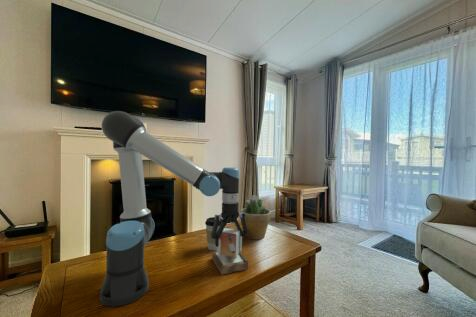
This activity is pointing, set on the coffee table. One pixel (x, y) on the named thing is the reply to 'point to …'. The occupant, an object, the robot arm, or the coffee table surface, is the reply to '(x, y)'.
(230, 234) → the small box
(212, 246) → the coffee cup
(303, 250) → the coffee table surface
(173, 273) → the coffee table surface
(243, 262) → the tray
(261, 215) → the potted plant
